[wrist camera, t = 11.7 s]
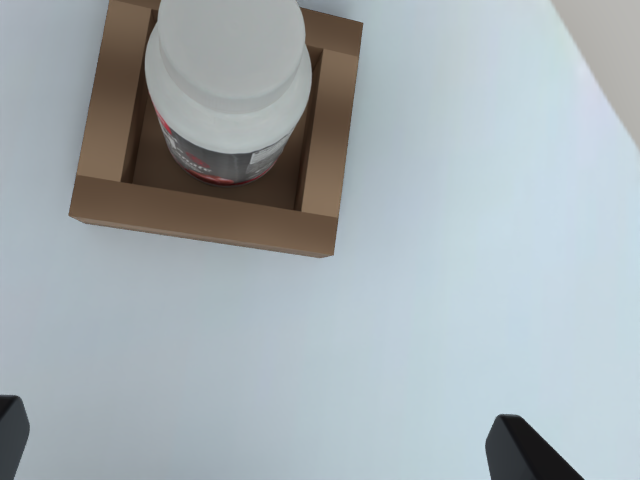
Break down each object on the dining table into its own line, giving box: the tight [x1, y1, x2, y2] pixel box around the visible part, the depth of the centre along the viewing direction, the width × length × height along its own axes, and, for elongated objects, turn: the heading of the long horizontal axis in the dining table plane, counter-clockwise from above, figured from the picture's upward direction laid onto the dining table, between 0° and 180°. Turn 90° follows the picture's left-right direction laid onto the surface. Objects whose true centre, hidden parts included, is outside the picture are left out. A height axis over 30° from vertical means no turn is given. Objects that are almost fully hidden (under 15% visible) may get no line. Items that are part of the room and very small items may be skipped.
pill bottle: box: [145, 0, 312, 188], centre depth 18 cm, size 5×5×10 cm
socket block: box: [68, 0, 363, 258], centre depth 22 cm, size 10×10×3 cm
